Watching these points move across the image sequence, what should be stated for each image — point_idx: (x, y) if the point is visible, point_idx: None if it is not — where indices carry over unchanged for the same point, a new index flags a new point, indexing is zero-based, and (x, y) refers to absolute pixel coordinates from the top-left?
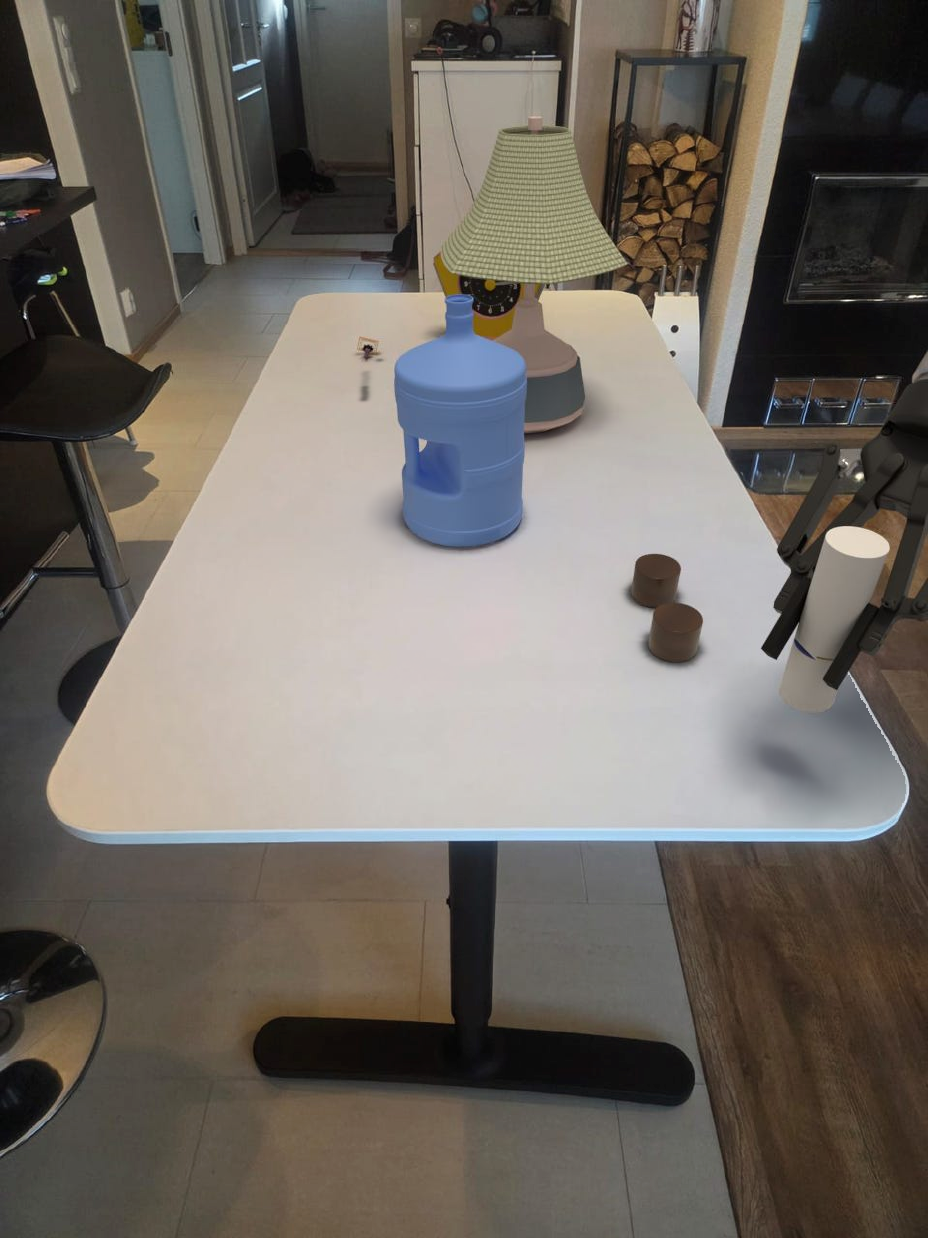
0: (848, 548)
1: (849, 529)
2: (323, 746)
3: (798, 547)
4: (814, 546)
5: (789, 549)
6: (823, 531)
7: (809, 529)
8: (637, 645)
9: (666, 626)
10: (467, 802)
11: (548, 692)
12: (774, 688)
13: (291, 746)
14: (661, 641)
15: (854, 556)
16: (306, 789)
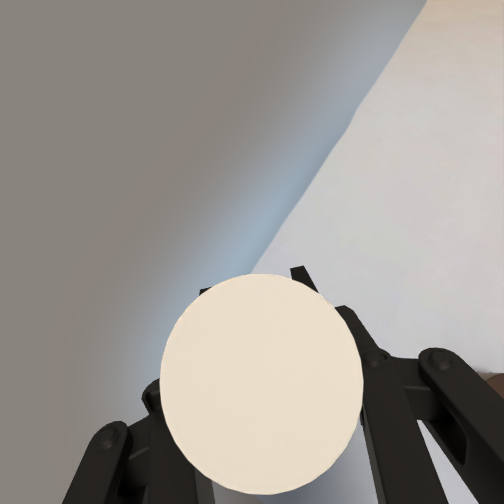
0: (248, 311)
1: (329, 424)
2: (461, 78)
3: (452, 435)
4: (399, 406)
5: (432, 366)
6: (428, 454)
7: (482, 469)
8: (501, 368)
9: (501, 379)
10: (366, 134)
11: (458, 238)
12: (364, 457)
13: (470, 63)
14: (484, 373)
15: (211, 290)
16: (424, 62)
